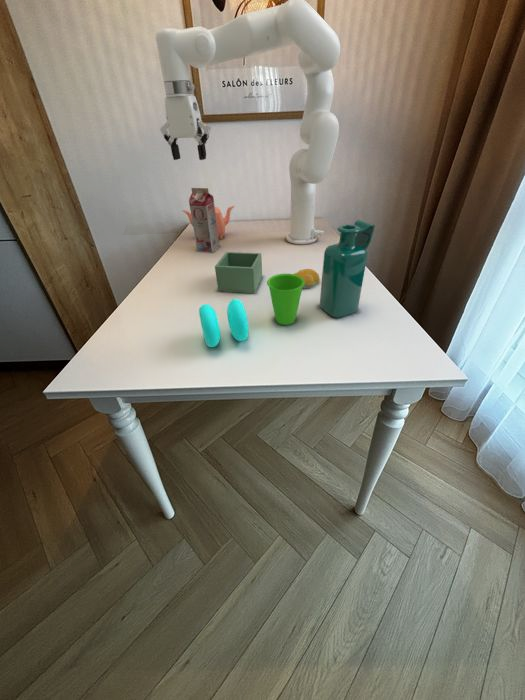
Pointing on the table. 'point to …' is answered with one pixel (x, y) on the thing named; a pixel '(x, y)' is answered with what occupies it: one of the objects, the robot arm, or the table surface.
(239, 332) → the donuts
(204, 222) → the juice carton
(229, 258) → the bin
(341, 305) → the pitcher
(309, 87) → the robot arm
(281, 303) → the cup
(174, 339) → the table surface
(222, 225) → the teapot
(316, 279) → the bread roll
